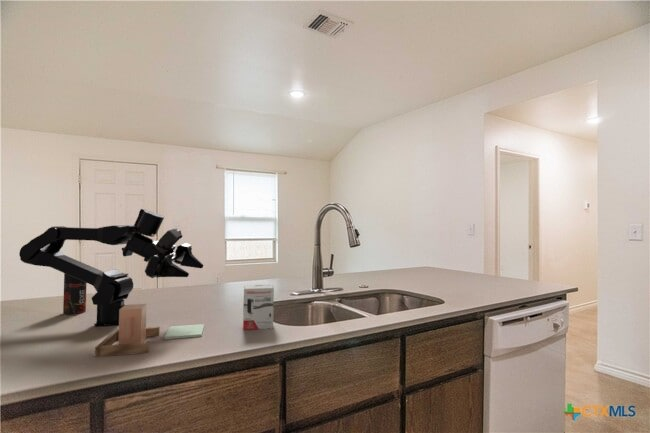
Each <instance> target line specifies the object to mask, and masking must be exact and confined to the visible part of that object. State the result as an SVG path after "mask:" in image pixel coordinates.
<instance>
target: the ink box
mask: <svg viewBox="0 0 650 433" xmlns="http://www.w3.org/2000/svg"><path fill="white" fill-rule="evenodd" d="M274 290H275V289H274V285H273V284H271V283H270V284H267V283H264V284H245V285H244V286H243V306H242V307H243V313H242V314H243V317H242V320H243V322H242V325H243V326H242V330H243V331H245V330H246V331H247V330H248V331H249V330H251V331H252V330H266V329H267V328H270V329H274V307H275V306H274V296H275V291H274ZM267 330H268V329H267Z"/></svg>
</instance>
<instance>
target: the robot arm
mask: <svg viewBox="0 0 650 433" xmlns="http://www.w3.org/2000/svg"><path fill="white" fill-rule="evenodd" d="M164 219H165V216H164V215H163V214H161V213H158V212H154V211H152V210H147V209H145V208H140V210H139V212H138V216H137V218H136V220H135V222H134V224H130V225H128V224H127V225H125V224H124V225H107V226H101V227H97V228H96V227H69V226H64V225H63V226H62V225H61V226H58V225H57V226H56V225H55V226H51V227H48V228H47V229H46V230H45V231H44V232H43V233H41V234H40V235H37V236H36V237H34V238H33V239H30V240H29V242H27V243H26V244H24V245H22V246H21V247H20V250H19V254H18V255H19V257H20V258H19V260H20V261H21V262H22V263H24V264H28V265H33V266H37V267H49V268H52V269H54V270H56V271H58V272H60V273H63V274H64V273H65V274H67V275H70V276H72V277H74V278H77V279H79V280H81V281H84V282H86V283H87V284H89V285H91V286H93V288H94V289H95V291H96V292H95V294H94V295H93V296H92V297H91V301H92V304H93V305H94V306H96V322H95V323H94V324H93V326H94V327H100V326H114V325H118V326H119V309H121V308H122V307H123V306H125V305H126V304H125V300H127V299H128V297H129V295H130V293H131V292H132V291H133V290H134V281H133V279H132V277H130V276H129V273H124V272H122V271H120V270H119V269H112V270H106V271H103V270H101V269H98V268H95V267H93V266H91V265H89V264H86V263H84V262H82V261H79V260H77V259H75V258H73V257H70V256H68V255H65V254H64V253H63V251H62V250H61V249H62V248H63V246H64V244H65V242H66V240H67V241H70V240H71V241H94V242H98V243H102V244H106V245H108V246H109V245H110V246H118V245H125V246H124V247H121V251H122V256H123V257H124V258H125V257H129V256H130V257H131V256H132V255H133V254H136V255H137V256H140V257H142V258H143V261H144V262H146V263H147V264H146V267H145V270H144V272H145V275H146V276H147V277H148V278H151V279H154V278H188V277H189V276H190V273H189V272H188V271H186V270H184V269H183V268H181V267H187V268H188V267H189V268H195V269H196V268H197V269H203V268H204V264H203V263H202V262H201V261H200V260H198V258H197V257H196V256H195V255H194V254H193V252H192V250H193V249H192V245H191V244H190V243H188V242H185V243H183V244H180V245H178V246H176V243H177V242H178V241H179V240H180V239H182V238H183V234H182V230H180V229H178V228H172V229H168V230H167V231H165V233H164V234H163V235H162V236H161V237H160V239H158V240H155V239H152V238H150V237H152V236H153V235H157V234H158V232H159V230H160V227H161V225H162V223H163V221H164ZM174 250H175V251H174ZM176 264H177V265H176ZM178 265H180V266H178Z"/></svg>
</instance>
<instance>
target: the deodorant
mask: <svg viewBox="0 0 650 433" xmlns="http://www.w3.org/2000/svg"><path fill="white" fill-rule="evenodd" d="M63 275H64V276H63V303H62V306H63V309H62V310H63V311H62V315H63V316H74V315H80V314H83V313H86V311H87V286H88V285H87V284H88V283H86V282H84V281H81V280H79V279H77V278H74V277H72V276H70V275H67V274H65V273H63Z"/></svg>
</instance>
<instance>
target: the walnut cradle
mask: <svg viewBox="0 0 650 433" xmlns="http://www.w3.org/2000/svg"><path fill="white" fill-rule="evenodd" d="M154 336H156V337H157V336H160V326H150V327H147V326H146V337H154ZM118 340H119V328H118V329H117V328H116V329H114V330H113V331H111V333H109V335H107V336H106V337H105V338H104V339H103V340H102V341H101V342H100V343H99V344H98V345H97V346H95V347H94V357H95V358H96V357H107V356H108V357H109V356H122V355H135V354H145V353H148V352H149V348H150V347H149V346H150V345H149V344H150V342H149V341H147V342H146V341H144V342H143V343H132V344H119V345H118V344H114V343H115V342H116V341H118Z"/></svg>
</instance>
